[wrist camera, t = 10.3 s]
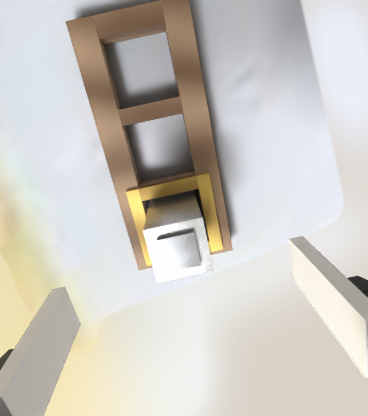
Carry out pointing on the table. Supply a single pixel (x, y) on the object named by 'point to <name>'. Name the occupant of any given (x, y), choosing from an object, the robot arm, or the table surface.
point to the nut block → (176, 237)
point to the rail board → (152, 116)
